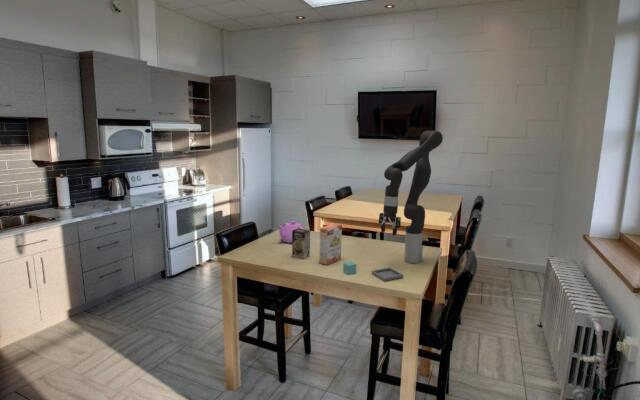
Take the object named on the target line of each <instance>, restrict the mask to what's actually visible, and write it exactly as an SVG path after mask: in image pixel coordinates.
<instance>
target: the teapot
mask: <svg viewBox="0 0 640 400" xmlns="http://www.w3.org/2000/svg"><path fill="white" fill-rule="evenodd" d="M277 226H278V227H279V236H280V238H281V240H282V242H284V243H287V244H288V243H289V244H292V230H295V229H304V230H305V228H304V227H303V224H301V223H300V222H296V220H290V222H284V223H283V225H280V224H277Z"/></svg>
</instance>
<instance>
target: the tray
mask: <svg viewBox="0 0 640 400" xmlns="http://www.w3.org/2000/svg"><path fill="white" fill-rule="evenodd" d="M371 275H373V276H374V277H376V278H377V279H379V280H381V281H382V282H385V283H386V282H389V281H396V280H400V279H404V274H403V273H401V272H399V271H397V270H396V269H394V268H391V267H385V268H379V269H375V270H372V271H371Z"/></svg>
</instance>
